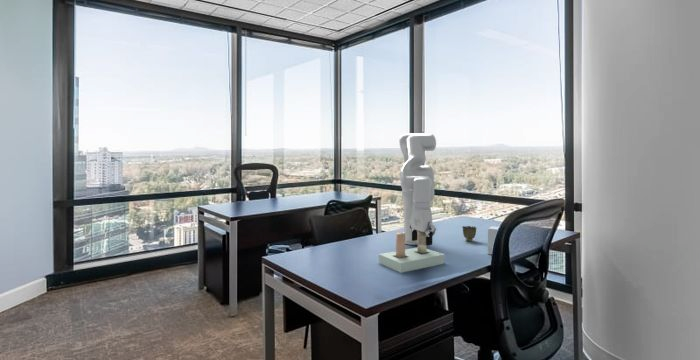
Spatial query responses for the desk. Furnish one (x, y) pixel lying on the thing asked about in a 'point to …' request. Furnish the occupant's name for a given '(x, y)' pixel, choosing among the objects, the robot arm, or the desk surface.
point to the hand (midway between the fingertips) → (421, 242)
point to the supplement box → (491, 237)
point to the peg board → (411, 260)
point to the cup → (469, 233)
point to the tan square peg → (400, 245)
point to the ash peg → (421, 242)
